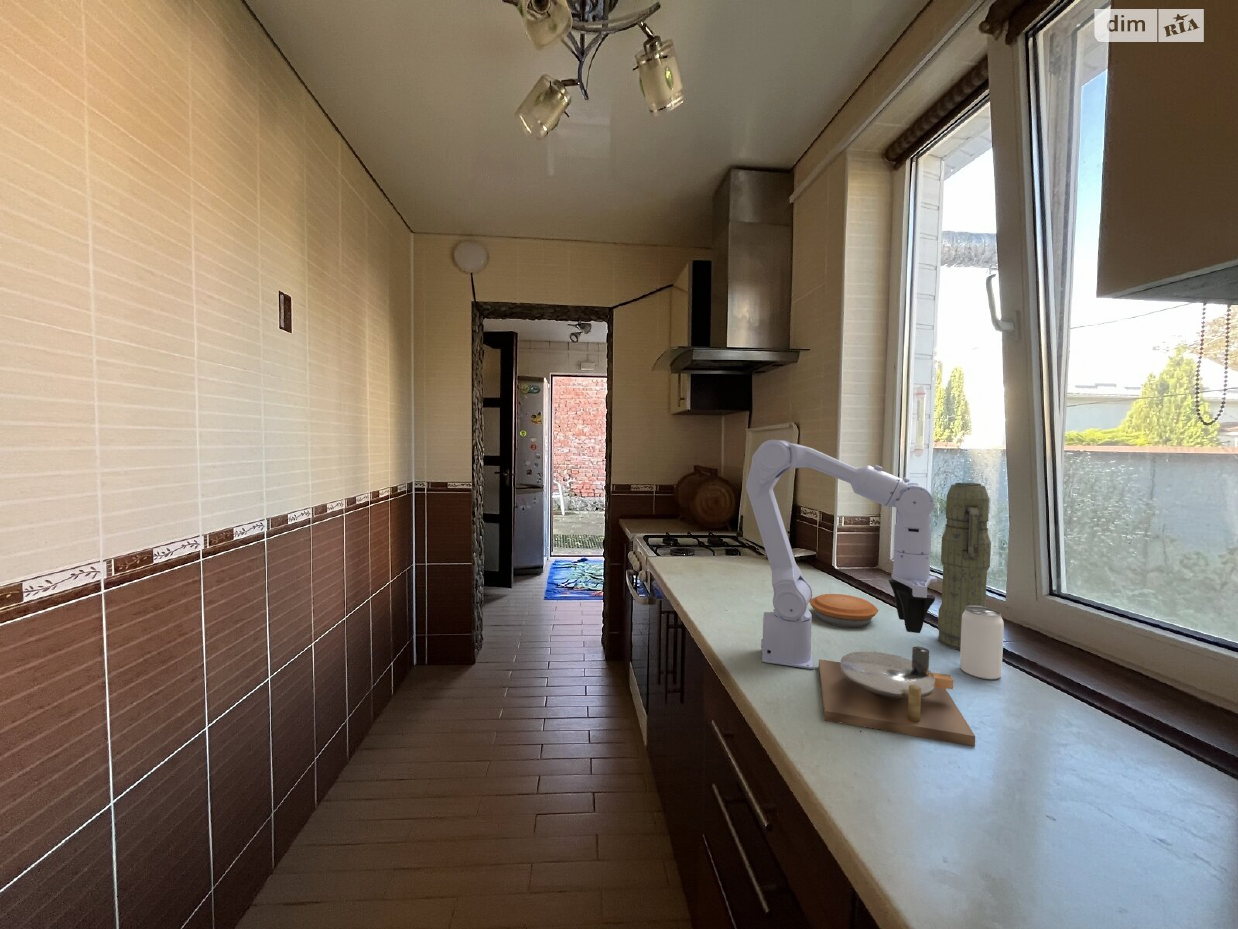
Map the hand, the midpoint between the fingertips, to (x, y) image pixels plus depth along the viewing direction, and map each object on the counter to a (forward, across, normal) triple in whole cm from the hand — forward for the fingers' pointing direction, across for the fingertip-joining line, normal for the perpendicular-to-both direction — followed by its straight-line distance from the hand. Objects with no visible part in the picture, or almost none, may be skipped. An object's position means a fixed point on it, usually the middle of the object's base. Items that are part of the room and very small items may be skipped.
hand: (909, 625), depth 92 cm
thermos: (+11, +24, -15) cm, 30 cm away
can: (+11, +9, -14) cm, 20 cm away
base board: (+10, -9, +5) cm, 15 cm away
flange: (+6, -9, +4) cm, 12 cm away
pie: (+11, +32, +8) cm, 35 cm away
